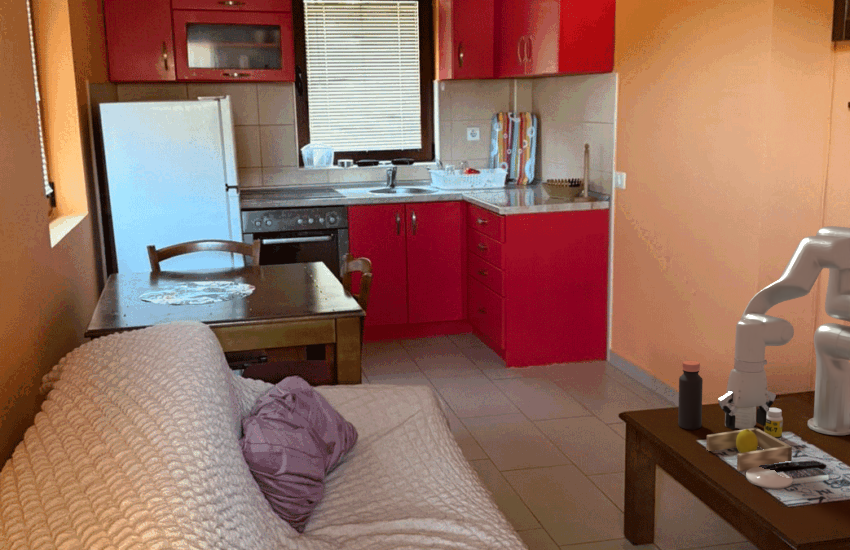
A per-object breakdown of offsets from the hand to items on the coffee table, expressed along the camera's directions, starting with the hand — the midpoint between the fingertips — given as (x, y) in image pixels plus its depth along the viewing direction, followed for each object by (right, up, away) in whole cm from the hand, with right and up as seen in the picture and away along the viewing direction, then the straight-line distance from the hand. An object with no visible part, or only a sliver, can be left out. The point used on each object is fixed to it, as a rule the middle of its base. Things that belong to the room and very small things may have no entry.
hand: (745, 426), depth 222 cm
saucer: (+1, -11, -12) cm, 17 cm away
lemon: (+1, -9, +2) cm, 9 cm away
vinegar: (-7, -5, +25) cm, 27 cm away
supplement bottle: (+14, -6, +14) cm, 21 cm away
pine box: (+1, -9, +2) cm, 9 cm away
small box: (+8, -5, +24) cm, 26 cm away
